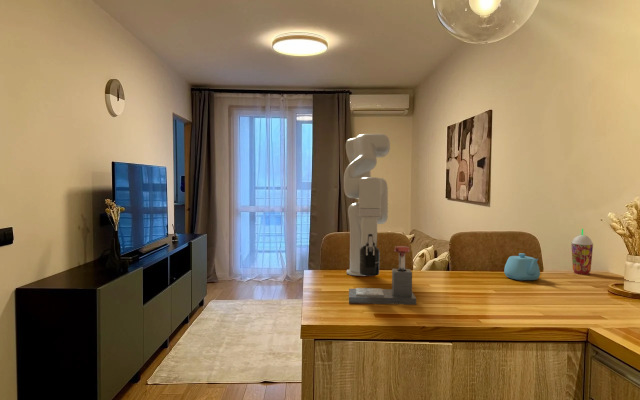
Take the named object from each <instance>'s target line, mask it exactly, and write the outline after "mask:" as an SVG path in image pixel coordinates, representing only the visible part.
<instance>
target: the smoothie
mask: <svg viewBox="0 0 640 400" xmlns="http://www.w3.org/2000/svg"><path fill="white" fill-rule="evenodd" d="M570 246H571V260H572V262H571V263H572V270H573V273H575V274H577V275H586V276H587V275H590V272H591V271H592V270H591V269H592V262H593V261H592V260H593V259H592V257H593V248H594V243H593V241H592V239H591V238H590V237H589V236H588V235H585V234H584V228H581V234H579V235H576V236H575V237H574V238H573V239H572V240H571V245H570Z"/></svg>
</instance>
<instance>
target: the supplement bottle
mask: <svg viewBox="0 0 640 400" xmlns="http://www.w3.org/2000/svg"><path fill="white" fill-rule="evenodd" d="M368 240H369V239H368ZM374 245H375V243H374ZM367 246H369V245H367ZM377 246H378V242H377V243H376V247H375V246H374V255H375V267H374V268H366V267H365V255H366V246H364V247H361V248H360V265H359V273H360V274H361V275H365V276H364V277H368V276H369V277H373V276H374V277H376V276H379V275H380V262H381V261H380V257H381V256H380V255H381V254H380V249H379V247H377Z"/></svg>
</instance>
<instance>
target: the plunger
mask: <svg viewBox="0 0 640 400" xmlns="http://www.w3.org/2000/svg"><path fill="white" fill-rule="evenodd" d="M394 252H395V253H398V269H399V271H405V269H406V253H410V246H406V245H397V246H396V245H395V246H394Z"/></svg>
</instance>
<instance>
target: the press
mask: <svg viewBox="0 0 640 400" xmlns="http://www.w3.org/2000/svg"><path fill="white" fill-rule="evenodd" d="M348 304H370V305H373V304H377V305H417V297H416V295H415V294H414V292H413V272H412V270H411V269H410V268H405V271H399V268H392V269H391V289H389V288H388V289H387V288H380V287H379V288H377V287H376V288H373V287H369V288H367V287H363V288H362V287H356V288H348Z"/></svg>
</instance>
